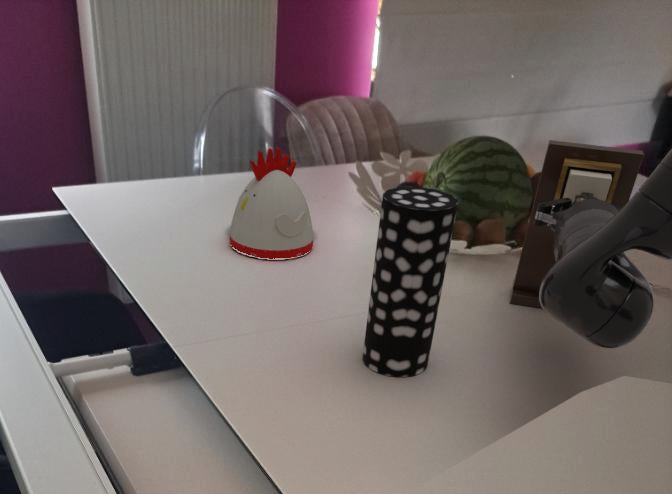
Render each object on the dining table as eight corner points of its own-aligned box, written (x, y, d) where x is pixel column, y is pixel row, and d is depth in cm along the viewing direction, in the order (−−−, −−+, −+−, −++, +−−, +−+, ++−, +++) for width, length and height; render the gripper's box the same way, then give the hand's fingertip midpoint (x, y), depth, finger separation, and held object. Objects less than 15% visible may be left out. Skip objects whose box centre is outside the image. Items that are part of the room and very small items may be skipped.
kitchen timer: (215, 238, 125) (213, 141, 115) (283, 226, 131) (287, 133, 121) (258, 266, 116) (260, 164, 107) (328, 252, 122) (337, 154, 113)
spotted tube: (348, 357, 94) (367, 194, 81) (392, 339, 99) (416, 182, 86) (397, 384, 90) (424, 215, 77) (440, 364, 94) (473, 201, 81)
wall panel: (511, 288, 114) (549, 136, 101) (591, 300, 112) (641, 147, 98) (509, 303, 110) (549, 146, 96) (593, 316, 108) (645, 158, 94)
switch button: (557, 215, 101) (570, 169, 98) (596, 220, 101) (611, 174, 97) (557, 220, 100) (570, 173, 96) (597, 226, 99) (612, 178, 95)
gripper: (662, 218, 81) (647, 176, 94) (539, 202, 83) (540, 164, 96) (638, 284, 85) (627, 236, 98) (522, 267, 88) (526, 222, 101)
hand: (584, 200), depth 97 cm, fingers closed
